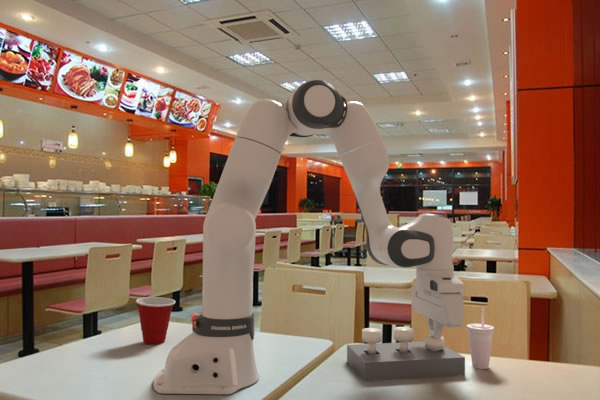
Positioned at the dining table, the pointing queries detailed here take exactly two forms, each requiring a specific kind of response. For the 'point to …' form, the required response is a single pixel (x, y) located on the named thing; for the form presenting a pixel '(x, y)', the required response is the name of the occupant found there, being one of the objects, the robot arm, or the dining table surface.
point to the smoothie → (480, 343)
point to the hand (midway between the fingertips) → (435, 337)
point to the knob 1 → (371, 338)
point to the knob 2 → (434, 343)
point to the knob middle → (403, 337)
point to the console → (404, 361)
